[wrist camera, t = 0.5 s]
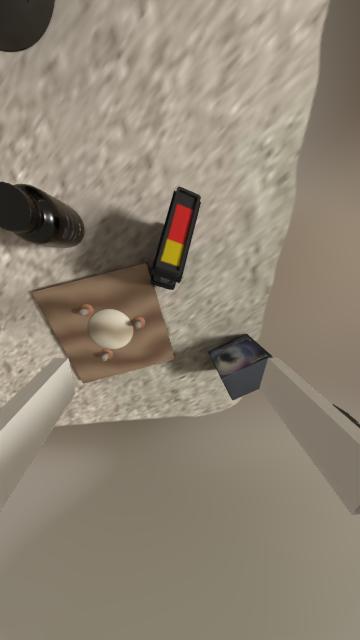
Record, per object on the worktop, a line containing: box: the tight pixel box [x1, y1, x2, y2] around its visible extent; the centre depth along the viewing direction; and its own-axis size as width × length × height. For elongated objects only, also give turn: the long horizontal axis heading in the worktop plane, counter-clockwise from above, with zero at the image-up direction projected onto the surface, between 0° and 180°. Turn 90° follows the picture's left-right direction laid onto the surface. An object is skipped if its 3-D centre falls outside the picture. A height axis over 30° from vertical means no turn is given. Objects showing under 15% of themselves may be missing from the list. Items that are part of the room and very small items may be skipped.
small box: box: [209, 334, 273, 400], centre depth 37 cm, size 11×6×10 cm, turn 117°
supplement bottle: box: [0, 182, 84, 247], centre depth 24 cm, size 7×7×12 cm
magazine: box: [150, 187, 201, 290], centre depth 27 cm, size 4×13×15 cm, turn 162°
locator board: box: [32, 263, 175, 383], centre depth 35 cm, size 22×22×4 cm
